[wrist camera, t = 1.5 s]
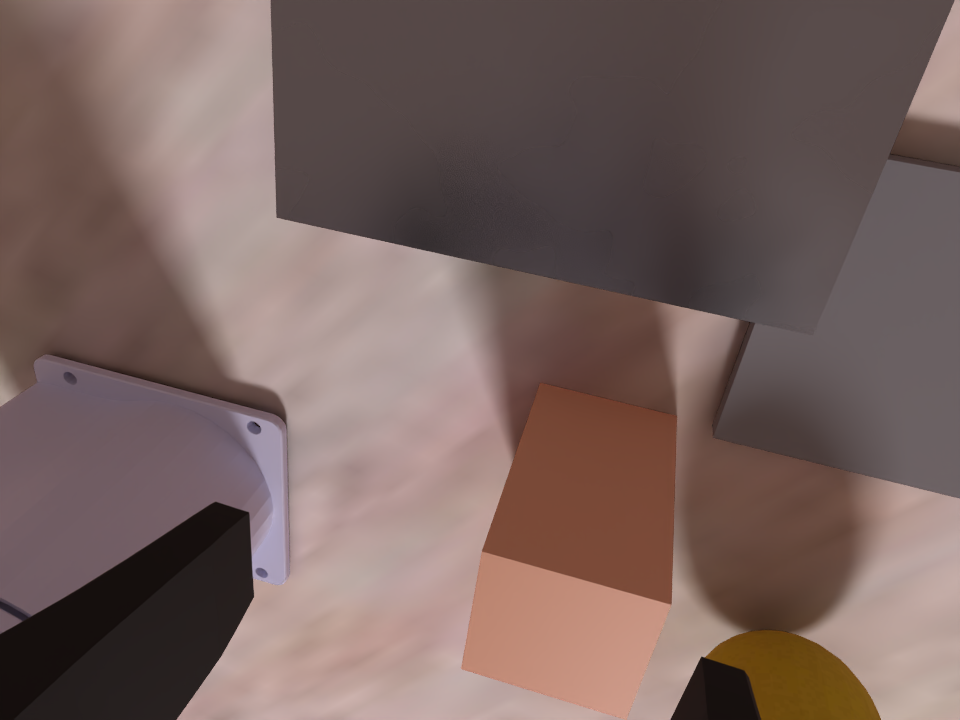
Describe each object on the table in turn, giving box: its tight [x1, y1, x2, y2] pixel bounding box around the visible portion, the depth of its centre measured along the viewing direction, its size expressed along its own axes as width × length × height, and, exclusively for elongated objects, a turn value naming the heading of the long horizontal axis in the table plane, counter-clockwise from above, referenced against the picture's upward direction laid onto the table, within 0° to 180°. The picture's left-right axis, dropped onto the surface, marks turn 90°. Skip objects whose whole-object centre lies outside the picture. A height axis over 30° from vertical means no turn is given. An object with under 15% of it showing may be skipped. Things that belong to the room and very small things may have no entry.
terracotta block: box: [461, 383, 677, 720], centre depth 19 cm, size 4×4×7 cm
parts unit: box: [271, 0, 954, 336], centre depth 13 cm, size 9×6×7 cm, turn 85°
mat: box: [712, 154, 960, 498], centre depth 17 cm, size 8×8×1 cm
